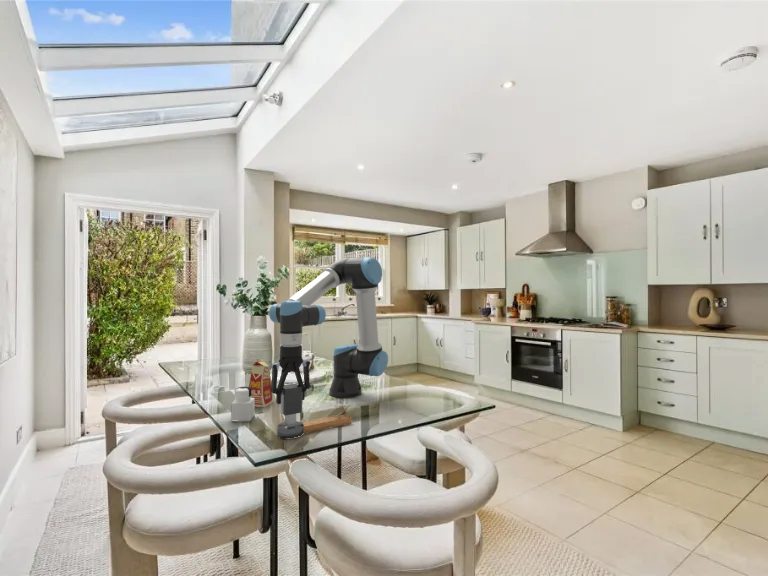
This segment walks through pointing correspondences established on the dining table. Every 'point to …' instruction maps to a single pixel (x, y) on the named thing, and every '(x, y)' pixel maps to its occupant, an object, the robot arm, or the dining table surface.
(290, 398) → the dark grey block
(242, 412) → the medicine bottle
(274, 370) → the robot arm
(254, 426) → the dining table surface
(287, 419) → the hammer
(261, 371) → the milk carton
